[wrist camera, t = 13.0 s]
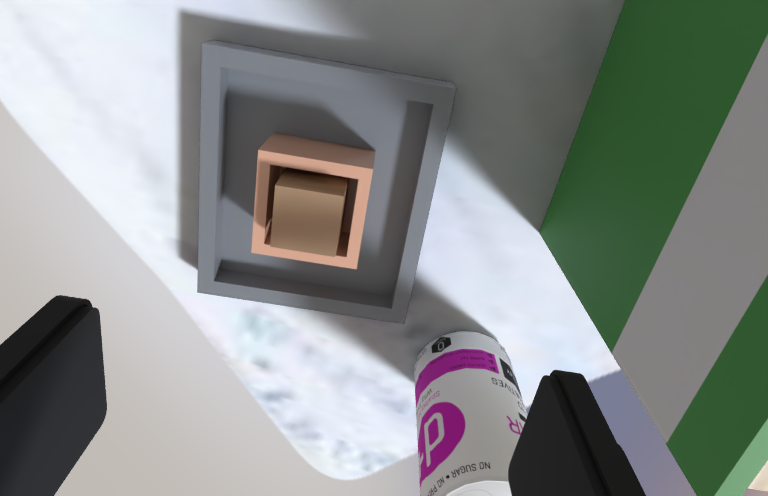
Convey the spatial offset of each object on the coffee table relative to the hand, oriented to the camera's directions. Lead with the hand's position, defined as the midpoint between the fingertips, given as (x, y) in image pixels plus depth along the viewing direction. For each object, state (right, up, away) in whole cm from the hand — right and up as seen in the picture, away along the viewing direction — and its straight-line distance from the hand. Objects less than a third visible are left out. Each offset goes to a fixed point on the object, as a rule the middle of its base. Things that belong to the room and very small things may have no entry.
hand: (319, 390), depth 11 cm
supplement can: (+8, -7, +35) cm, 37 cm away
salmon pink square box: (-3, +7, +27) cm, 28 cm away
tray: (-3, +7, +28) cm, 29 cm away
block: (-3, +7, +27) cm, 28 cm away
